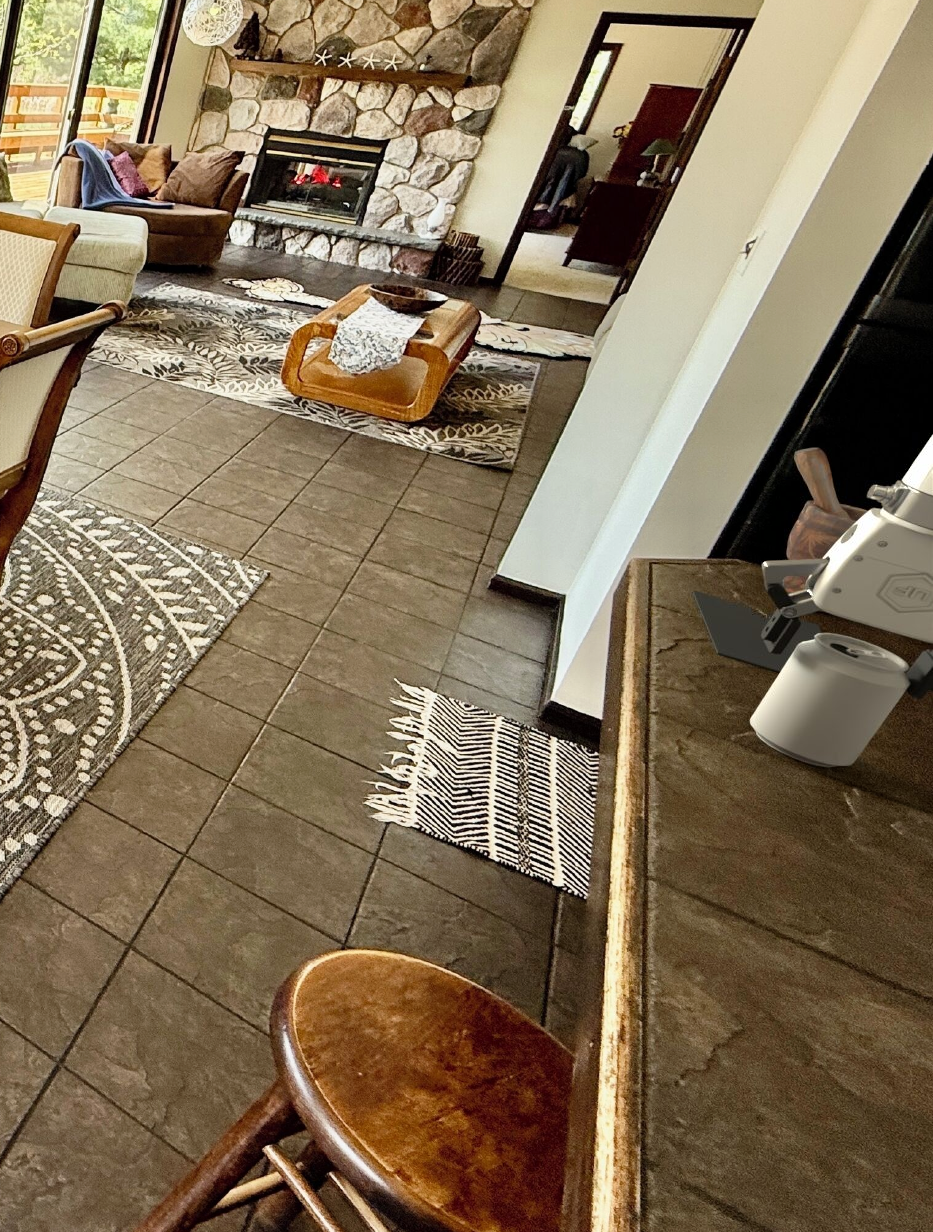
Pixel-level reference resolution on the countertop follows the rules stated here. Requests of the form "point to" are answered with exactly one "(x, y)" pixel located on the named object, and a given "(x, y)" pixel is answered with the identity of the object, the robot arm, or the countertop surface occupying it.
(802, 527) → the mortar and pestle
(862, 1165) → the countertop surface
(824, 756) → the can
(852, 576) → the robot arm
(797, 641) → the mat
